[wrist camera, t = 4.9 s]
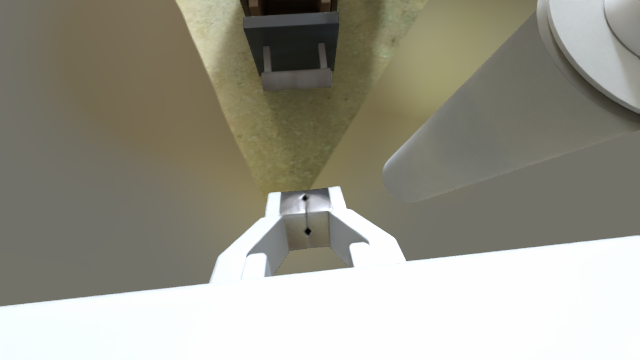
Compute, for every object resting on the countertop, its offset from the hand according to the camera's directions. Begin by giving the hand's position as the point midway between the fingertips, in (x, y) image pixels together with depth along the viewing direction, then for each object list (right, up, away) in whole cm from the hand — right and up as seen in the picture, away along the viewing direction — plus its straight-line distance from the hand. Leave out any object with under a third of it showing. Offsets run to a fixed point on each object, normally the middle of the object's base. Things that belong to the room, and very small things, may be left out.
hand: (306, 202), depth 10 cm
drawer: (-2, +15, +16) cm, 22 cm away
